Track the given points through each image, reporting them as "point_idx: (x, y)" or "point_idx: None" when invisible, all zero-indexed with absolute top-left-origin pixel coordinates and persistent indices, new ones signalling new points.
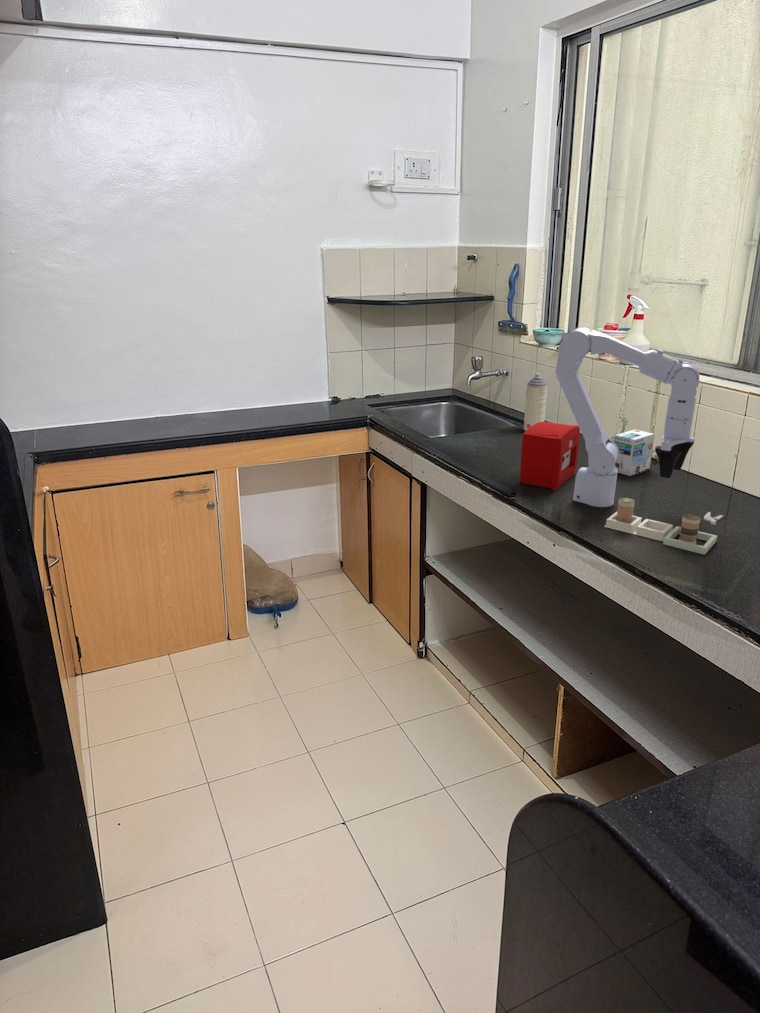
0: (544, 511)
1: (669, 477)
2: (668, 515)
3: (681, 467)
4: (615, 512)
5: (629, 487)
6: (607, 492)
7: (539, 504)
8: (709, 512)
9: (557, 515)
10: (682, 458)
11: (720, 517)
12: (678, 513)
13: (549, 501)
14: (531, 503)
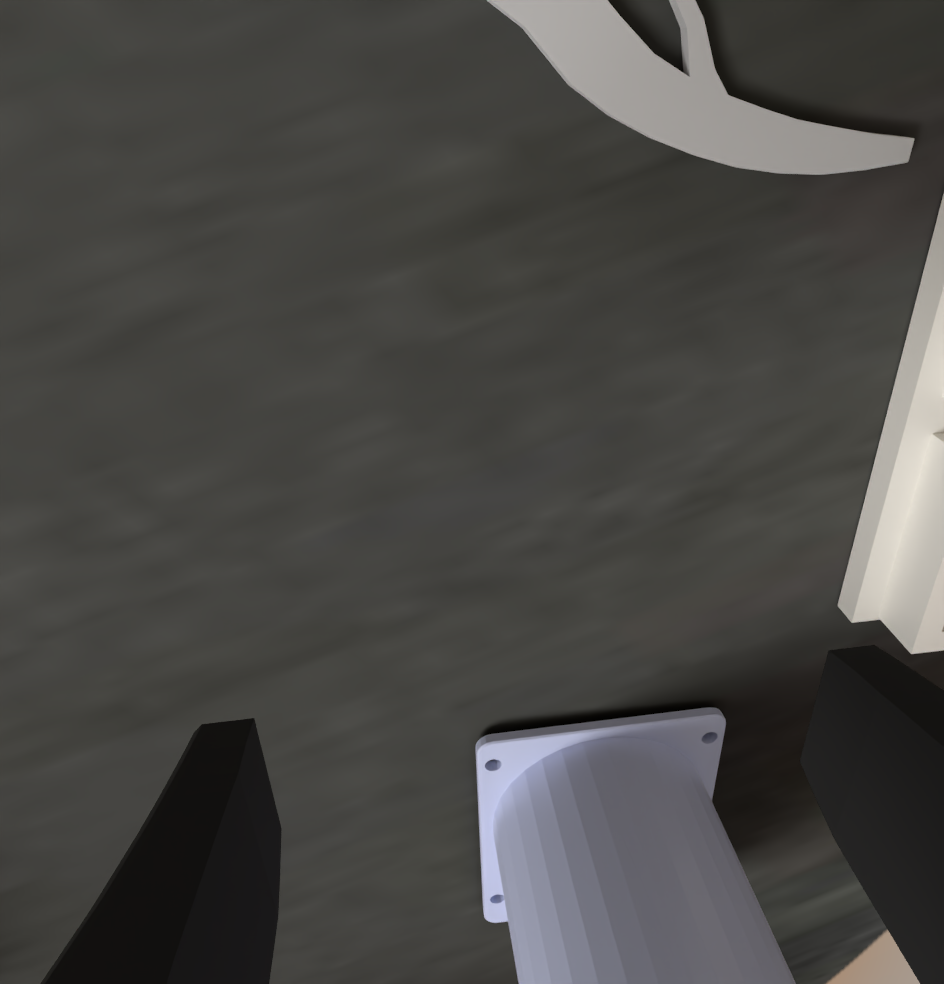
0: None
1: (889, 656)
2: (468, 359)
3: (184, 756)
4: (931, 651)
5: (34, 841)
6: (720, 858)
7: (785, 950)
8: None
9: None
10: (188, 978)
11: None
12: (337, 305)
13: None
14: (791, 972)
